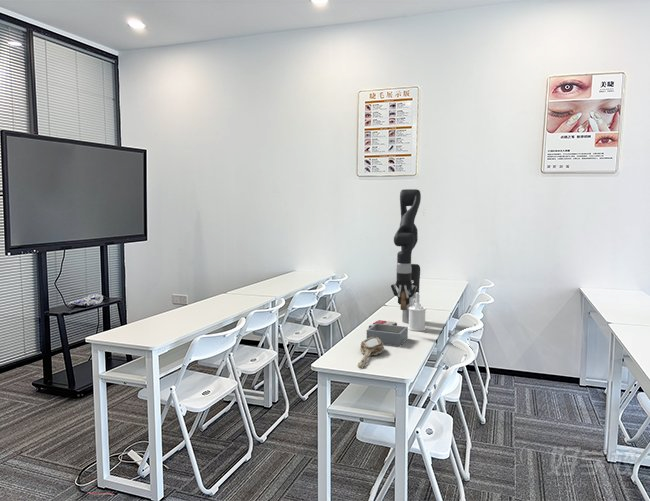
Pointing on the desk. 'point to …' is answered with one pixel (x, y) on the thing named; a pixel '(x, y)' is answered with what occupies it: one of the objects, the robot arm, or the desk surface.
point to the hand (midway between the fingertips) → (403, 304)
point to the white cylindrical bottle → (416, 315)
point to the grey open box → (388, 333)
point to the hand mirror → (370, 349)
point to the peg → (403, 300)
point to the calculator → (384, 323)
